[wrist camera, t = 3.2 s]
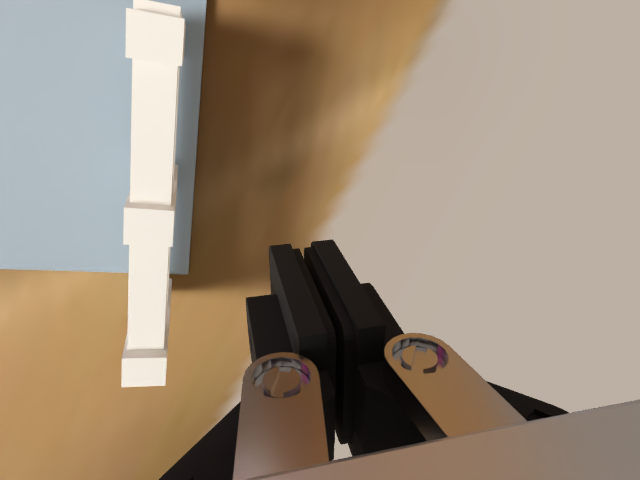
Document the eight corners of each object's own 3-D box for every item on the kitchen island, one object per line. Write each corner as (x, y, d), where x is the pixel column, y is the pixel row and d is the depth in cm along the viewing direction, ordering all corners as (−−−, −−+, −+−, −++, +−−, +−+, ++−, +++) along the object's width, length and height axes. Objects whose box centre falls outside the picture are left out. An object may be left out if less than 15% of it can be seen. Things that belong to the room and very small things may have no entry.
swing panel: (145, 9, 14) (126, -6, 10) (186, 17, 14) (185, 6, 10) (138, 301, 18) (121, 386, 13) (170, 301, 18) (165, 385, 14)
